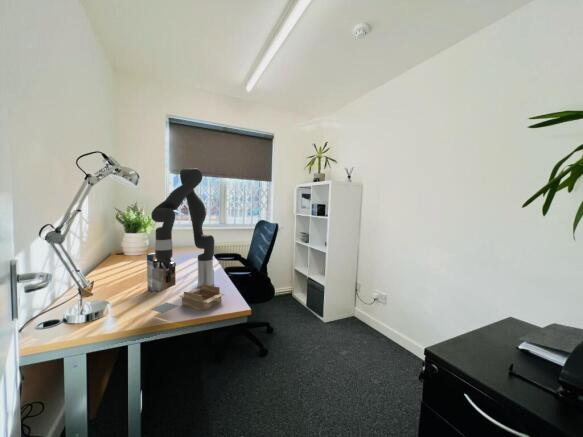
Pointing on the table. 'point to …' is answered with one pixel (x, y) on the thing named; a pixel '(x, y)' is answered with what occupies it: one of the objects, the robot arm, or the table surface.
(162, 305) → the felt mat
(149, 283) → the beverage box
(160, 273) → the walnut block
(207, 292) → the kraft carton
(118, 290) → the table surface
